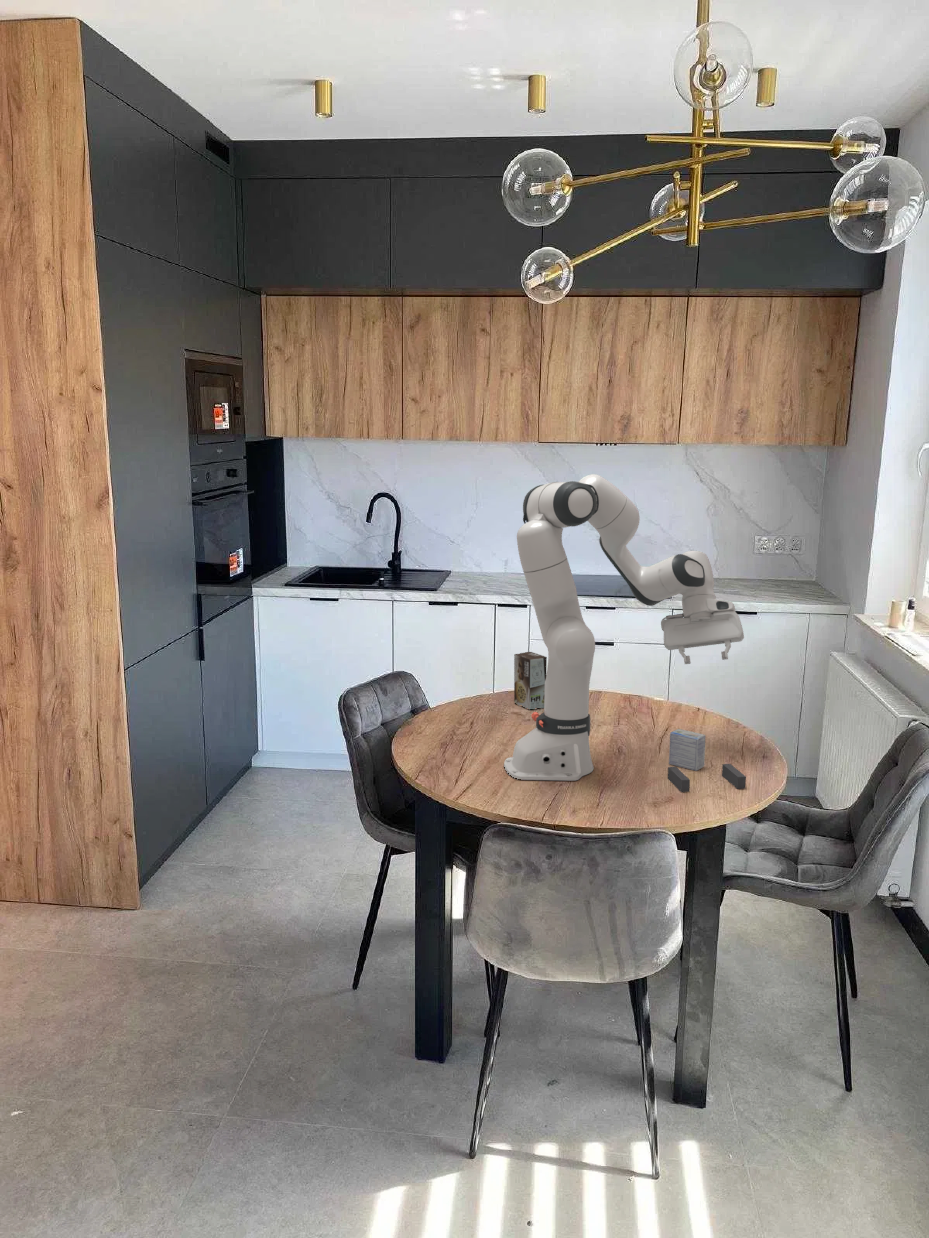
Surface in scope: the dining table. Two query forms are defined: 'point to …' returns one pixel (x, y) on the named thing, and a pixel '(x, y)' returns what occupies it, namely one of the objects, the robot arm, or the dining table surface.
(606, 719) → the dining table surface
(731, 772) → the grey blocks
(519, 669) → the coffee box
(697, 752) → the medicine box
